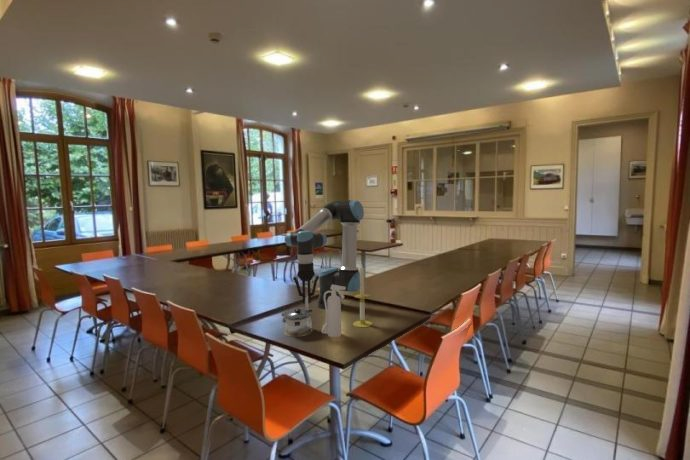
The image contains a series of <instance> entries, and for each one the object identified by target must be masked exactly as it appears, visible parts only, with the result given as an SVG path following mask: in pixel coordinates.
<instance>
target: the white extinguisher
mask: <svg viewBox="0 0 690 460" xmlns="http://www.w3.org/2000/svg"><path fill="white" fill-rule="evenodd" d="M330 289H332V291H327V292H325V293H324V303H325V309H324V311H325V322H324V324H323V326H322V328H321V330H320V333H322V334H324V335H327V336H328V337H330V338H339V337H341V336H342V312H341V311H342V309H341V308H342V305H341V301H342V300H343V299H345V294H344V293H343V291H342V290H345V289H346V287H344V286H338V285H331V288H330ZM336 291H337V292H338V293H339V295H340V297H339V296H336ZM327 293H331V296H329V297H328V300H327V303H326V299H325V297H326V294H327ZM340 298H341V299H340Z"/></svg>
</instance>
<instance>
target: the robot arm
mask: <svg viewBox="0 0 690 460" xmlns="http://www.w3.org/2000/svg"><path fill="white" fill-rule="evenodd" d="M364 216H365V210H364V207H363V205H362V203H361V202H360V201H359V200H354V199H353V200H334V201H331V202H329V203H326V204H325V205H323V206H322V207H321V208H320V209H319V210H318V212H317V213H316V214H315V215H314V216H312V217H311V218H310V219H308V220H307V221H306V222H305V223H304V224H303V225H301V226H300V227H299V228H298V229H296V230H295V231H290V232H287V233H286V234H285V235H284V236H285V237H284V243H285V244H286V246H288V247H293V248H294V247H297V262H298V263H297V274H296V275H294V276H293V277H292V279H293V280H294V282H295V287H296V289H297V293H298V296H300V297H301V298H302V303H303V304H305V307H304V308H305V310H309V304H311V303H312V302H311V298H312V296H314V295H315V292H316V288H317V283H319V295H318V298H317V301H316V303H317V307H318V308H320V309H324V310H325V303H324V293H325V292H327V291H332V289H330V288H331V285H338V286H344V287H346V289H345V290H341V291H342V292H343V291H344V292H349V293H350V292H352V293H355V292H357V291H358V290H360V268H358V266H357V245H358V244H357V243H358V226H359V224H360V223H361V221H362V220H363V219H364ZM335 220H336V221H338V220H339V222H340V224H341V225H342V238H341V239H342V243H341V244H342V245H341V246H342V247H341V266H340V267H327V268H323V269H321V270H319V274H318V275H317V274H315V270H314V249H317V248H322V247H325V246H326V245H327V242H328V237H327V236H326V233H324V232H317V231H319V230H320V229H321V228H322V227H323V226H325V225H326V224H328V223H330V222H332V221H335ZM313 279H314V281H313V286H312V290H311V281H312V280H313ZM299 280H300V281H301V282H302V284H301V285H302V289H301V286H300V283H299ZM318 280H319V281H318ZM306 282H307V295H306ZM329 296H331V293H327V294H326V297H325V299H326V303H327V300H328V297H329ZM336 296H339V297H340V299H341V306H342V305H343V304H342V303H343V301H342V298H341V296H340V294H339V293H338V292H337V291H336Z"/></svg>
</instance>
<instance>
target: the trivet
mask: <svg viewBox="0 0 690 460" xmlns="http://www.w3.org/2000/svg"><path fill="white" fill-rule="evenodd" d="M313 331H314V329H313V328H312V331H311V332H310V333H309V334H306V335H302V336H301V337H304V336H308V335H310V334H312V333H313ZM284 334H285V335H286V336H290V337H292V336H291V335H288V334H286V333H285V330H284Z"/></svg>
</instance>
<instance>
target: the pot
mask: <svg viewBox="0 0 690 460" xmlns="http://www.w3.org/2000/svg"><path fill="white" fill-rule="evenodd" d="M282 323H284V325H285V326H284V328H285V329H284V331H285V333H286V334H288V335H291V336H290V337H303V336H302V335H305V336H307V335H306V334H308V335H310V334H311V333H310V332H311V331H312V329H313V327H312V324H313V323H312V314H311V315H309V316H307V317H304V318H299V319H288V318H285V317H284V316H283V318H282ZM312 332H313V331H312ZM285 333H284V334H285ZM309 333H310V334H309ZM286 334H285V335H286ZM288 335H287V336H288Z"/></svg>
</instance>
